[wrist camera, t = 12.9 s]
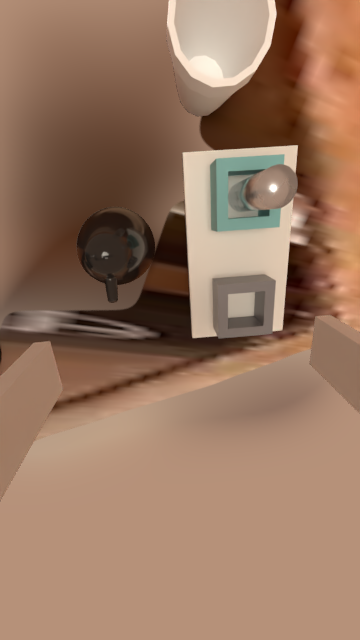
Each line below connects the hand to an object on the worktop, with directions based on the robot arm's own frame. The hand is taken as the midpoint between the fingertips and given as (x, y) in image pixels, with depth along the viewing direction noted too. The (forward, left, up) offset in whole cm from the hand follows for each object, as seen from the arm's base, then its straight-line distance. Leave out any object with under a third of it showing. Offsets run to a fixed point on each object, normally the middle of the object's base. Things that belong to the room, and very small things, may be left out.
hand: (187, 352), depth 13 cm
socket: (+11, +8, -30) cm, 33 cm away
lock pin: (+11, +8, -30) cm, 33 cm away
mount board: (+11, 0, -32) cm, 33 cm away
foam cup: (+6, +22, -32) cm, 39 cm away
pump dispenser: (-7, +3, -32) cm, 33 cm away
